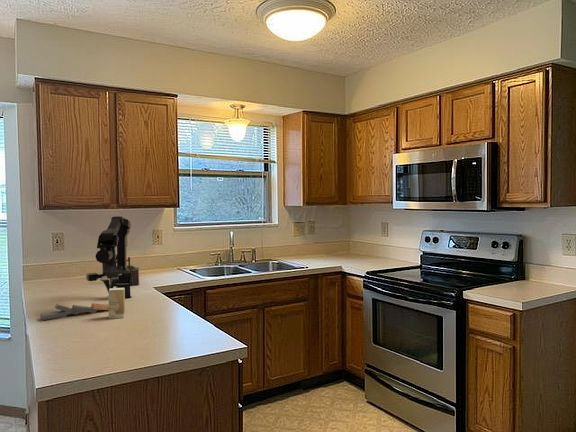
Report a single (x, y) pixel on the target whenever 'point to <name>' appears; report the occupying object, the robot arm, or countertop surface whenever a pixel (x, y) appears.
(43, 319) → the domino
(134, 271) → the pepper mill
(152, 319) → the countertop surface
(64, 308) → the domino
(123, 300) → the skincare box
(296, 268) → the countertop surface
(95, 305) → the domino
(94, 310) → the domino
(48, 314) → the domino
